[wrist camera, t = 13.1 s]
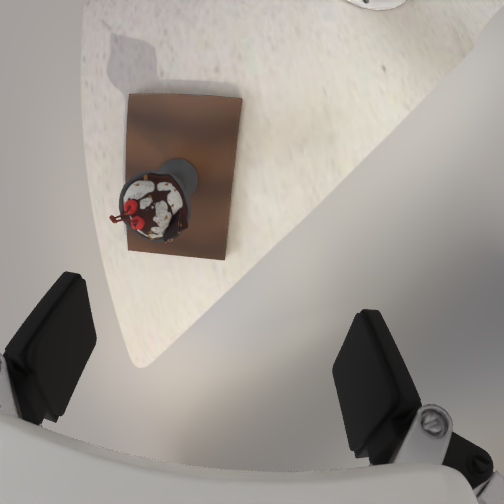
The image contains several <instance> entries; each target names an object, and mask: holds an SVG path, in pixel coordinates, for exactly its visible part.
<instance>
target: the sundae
mask: <svg viewBox="0 0 504 504" xmlns="http://www.w3.org/2000/svg"><path fill="white" fill-rule="evenodd" d="M197 185H198V174H197V171H196V169H195V167H194V166H193V165H192V164H191V163H190V162H188V161H186V160H184V159H178V158H176V159H171V160H168V161H167V162H165V163H164V164H163V165H162V166H161V167H160V169H159V170H149V171H144V172H140V173H137V174H136V175H134V176H132V177H131V178H130V179H129V180H128V181H127V182H126V183H125V185H124V187H123V189H122V191H121V194H120V199H119V210H120V215H119V216H117V217H114V216H112V215H111V216H110V217H109V218H110V220H111V221H112V222H113V223H117V222H119V221H123V222H124V223H125V224H126V226H127V227H128V228H129V229H130V230H131V231H132V232H134V233H135V234H137V235H138V236H140V237H142V238H144V239H145V240H148V241H152V242H165V243H166V244H167V243H169V242H171V241H172V240H174V239H175V238H176V237H178V236H179V235H180V234H181V233H182V231H183V230H185V229H187V228H188V223H189V221H190V216H191V205H190V200H189V196H190V195H191V194H193V192H194V191H195V190H196V188H197ZM119 217H121V219H120V220H115V219H116V218H119Z"/></svg>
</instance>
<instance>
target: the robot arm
mask: <svg viewBox="0 0 504 504" xmlns="http://www.w3.org/2000/svg"><path fill="white" fill-rule="evenodd" d="M347 1H349V2H351V3H353V4H355V5H358V6H360V7H363V8H367V9H372V10H387V9H392V8H395V7H397V6H399V5H401V4H403V3H404V2H405V1H406V0H347ZM363 1H364V2H365V3H364V2H363ZM96 339H97V337H96V332H95V328H94V323H93V318H92V313H91V308H90V303H89V298H88V292H87V287H86V281H85V280H84V279H82V277H81V275H80V274H78V273H72V272H67V271H66V272H64V273H63V274H62V275H61V276H60V278H58V280H57V281H56V282H55V283H54V284H53V286H52V287H51V288H50V289H49V291H48V292H47V293H46V294H45V296H44V297H43V298H42V299H41V301H40V302H39V303H38V304H37V306H36V307H35V308H34V310H33V311H32V312H31V313H30V315H29V316H28V317H27V319H26V320H25V321H24V323H23V324H22V326H21V327H20V328H19V330H18V331H17V332H16V334H15V335H14V337H13V338H12V339H11V341H10V342H9V344H8V345H7V347H6V348H5V353H4V354H3V355H2V354H1V353H0V504H504V477H503V476H502V475H501V474H500V473H499V472H498V471H495V472H493V461H492V459H491V457H490V455H489V454H488V453H487V452H486V451H485V450H483V449H482V448H480V447H478V446H476V445H475V444H473V443H471V442H470V441H468V440H466V439H464V438H462V437H461V436H459V435H457V434H456V433H454V432H452V431H453V422H452V419H451V417H450V415H449V414H448V413H447V411H446V410H445V409H443V408H442V407H440V406H437V405H435V404H427V405H424V406H422V404H421V401H420V400H421V399H420V397H419V395H418V392H417V390H416V387H415V385H414V383H413V381H412V378H411V376H410V374H409V372H408V370H407V367H406V365H405V363H404V361H403V358H402V356H401V354H400V352H399V350H398V348H397V346H396V344H395V342H394V339H393V337H392V335H391V333H390V331H389V329H388V327H387V325H386V323H385V321H384V319H383V317H382V315H381V313H380V312H379V311H378V310H368V309H363V310H362V311H361V312H360V313H357V314H356V315H355V317H354V320H353V322H352V325H351V327H350V329H349V332H348V334H347V336H346V339H345V341H344V343H343V346H342V347H341V350H340V352H339V354H338V356H337V358H336V360H335V363H334V365H333V370H332V371H333V372H332V373H333V377H334V382H335V386H336V389H337V394H338V399H339V403H340V407H341V411H342V415H343V420H344V425H345V429H346V434H347V438H348V443H349V447H350V450H351V451H354V453H355V457H356V458H364V457H369V461H370V465H369V466H367V467H358V468H348V469H336V470H320V471H298V472H297V471H296V472H266V471H241V470H227V469H216V468H206V467H198V466H190V465H183V464H177V463H171V462H165V461H159V460H154V459H149V458H144V457H140V456H135V455H130V454H126V453H122V452H118V451H114V450H111V449H107V448H103V447H100V446H96V445H93V444H90V443H86V442H83V441H80V440H77V439H74V438H71V437H68V436H65V435H62V434H59V433H56V432H53V431H51V430H48V429H45V428H43V427H42V425H41V424H42V421H43V419H44V418H45V419H47V420H50V421H53V422H55V423H56V422H57V420H58V417H59V416H62V415H63V414H64V412H65V410H66V408H67V405H68V403H69V401H70V398H71V396H72V394H73V392H74V389H75V387H76V385H77V383H78V381H79V378H80V376H81V374H82V372H83V370H84V368H85V365H86V363H87V361H88V359H89V357H90V355H91V353H92V351H93V349H94V347H95V345H96Z"/></svg>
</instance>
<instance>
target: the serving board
mask: <svg viewBox="0 0 504 504" xmlns="http://www.w3.org/2000/svg"><path fill="white" fill-rule="evenodd" d="M241 106H242V98H234V97H223V96H209V95H191V94H129V100H128V114H127V133H126V182H127V181H128V180H129V179H130V178H131V177H132V176H134V175H136V174H137V173H140V172H144V171H149V170H159V169H160V167H161V166H162V165H163V164H164V163H165V162H167V161H168V160H171V159H176V158H178V159H184V160H186V161H188V162H190V163H191V164H192V165H193V166H194V167H195V169H196V171H197V174H198V185H197V188H196V190H195V191H194V192H193V194H191V195H190V196H189V200H190V205H191V216H190V221H189V223H188V228H187V229H185V230H183V231H182V233H181V234H180V235H179V236H178V237H176V238H175V239H174V240H172V241H171V242H169V243H167V244H166V243H165V242H152V241H148V240H145V239H144V238H142V237H140V236H138V235H137V234H135V233H134V232H132V231H131V230H130V229H129V228H128V227H127V242H128V250H131V251H140V252H149V253H159V254H168V255H178V256H187V257H197V258H207V259H216V260H225V255H226V244H227V234H228V224H229V213H230V204H231V194H232V184H233V175H234V166H235V157H236V148H237V139H238V131H239V122H240V114H241Z"/></svg>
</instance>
